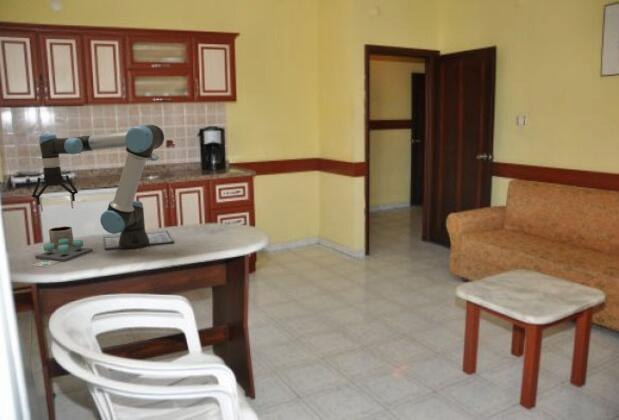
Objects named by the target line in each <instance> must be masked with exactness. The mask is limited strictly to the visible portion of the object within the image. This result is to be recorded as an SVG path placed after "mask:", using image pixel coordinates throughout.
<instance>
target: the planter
mask: <svg viewBox="0 0 619 420" xmlns="http://www.w3.org/2000/svg"><path fill="white" fill-rule="evenodd" d="M48 234H49V235H48V236H49V243H54V247H55V249H57V248H58V246H59V239H64V238H68V239H69V246H70V247H73V241H74V234H73V228H72V226H57V227H52V228H49V229H48Z"/></svg>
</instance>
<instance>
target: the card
mask: <svg viewBox="0 0 619 420" xmlns="http://www.w3.org/2000/svg"><path fill="white" fill-rule="evenodd" d="M56 264H60V262H59V261H51V260H42V261H39V262H36V263H33V264H31V267H37V268H38V267H39V268H47V267H50V266H52V265H56Z"/></svg>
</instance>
